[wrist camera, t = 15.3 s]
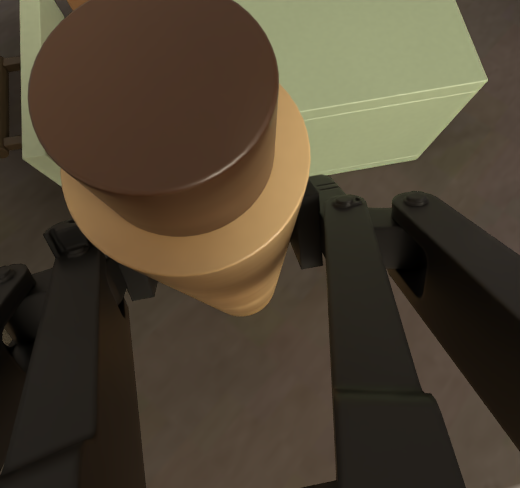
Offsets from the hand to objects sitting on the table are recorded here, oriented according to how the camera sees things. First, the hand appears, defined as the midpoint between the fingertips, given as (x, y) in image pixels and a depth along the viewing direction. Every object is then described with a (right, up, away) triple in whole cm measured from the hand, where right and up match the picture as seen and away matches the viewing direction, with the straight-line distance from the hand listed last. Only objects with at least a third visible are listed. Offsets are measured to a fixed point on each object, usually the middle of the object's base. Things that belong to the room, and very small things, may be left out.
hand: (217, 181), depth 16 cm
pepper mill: (+1, -6, +8) cm, 9 cm away
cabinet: (+6, +9, +11) cm, 15 cm away
